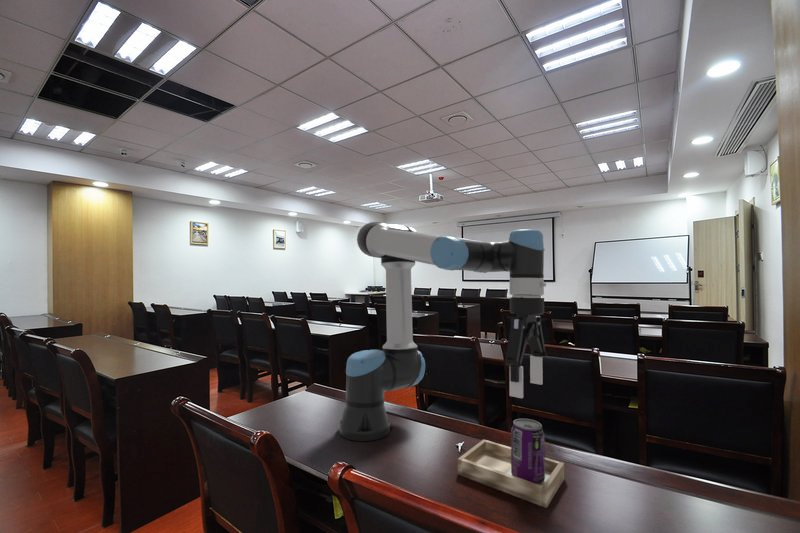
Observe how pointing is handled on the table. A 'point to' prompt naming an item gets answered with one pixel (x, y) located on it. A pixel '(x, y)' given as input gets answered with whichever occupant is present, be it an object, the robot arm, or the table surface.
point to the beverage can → (528, 450)
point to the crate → (509, 473)
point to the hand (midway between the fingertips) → (527, 389)
